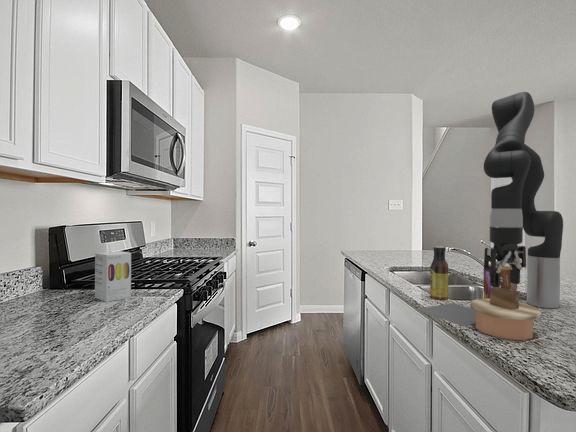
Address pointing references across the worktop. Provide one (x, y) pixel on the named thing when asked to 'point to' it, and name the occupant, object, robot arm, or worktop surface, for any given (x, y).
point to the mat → (452, 313)
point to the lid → (505, 305)
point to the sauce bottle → (439, 275)
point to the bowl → (504, 327)
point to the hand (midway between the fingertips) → (505, 285)
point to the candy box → (504, 281)
